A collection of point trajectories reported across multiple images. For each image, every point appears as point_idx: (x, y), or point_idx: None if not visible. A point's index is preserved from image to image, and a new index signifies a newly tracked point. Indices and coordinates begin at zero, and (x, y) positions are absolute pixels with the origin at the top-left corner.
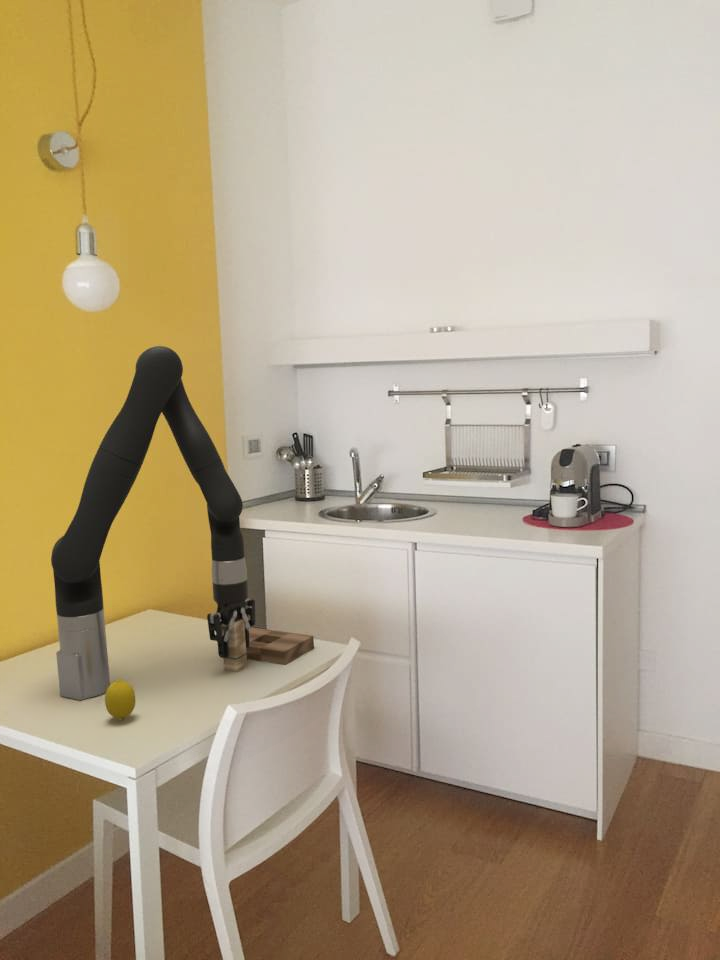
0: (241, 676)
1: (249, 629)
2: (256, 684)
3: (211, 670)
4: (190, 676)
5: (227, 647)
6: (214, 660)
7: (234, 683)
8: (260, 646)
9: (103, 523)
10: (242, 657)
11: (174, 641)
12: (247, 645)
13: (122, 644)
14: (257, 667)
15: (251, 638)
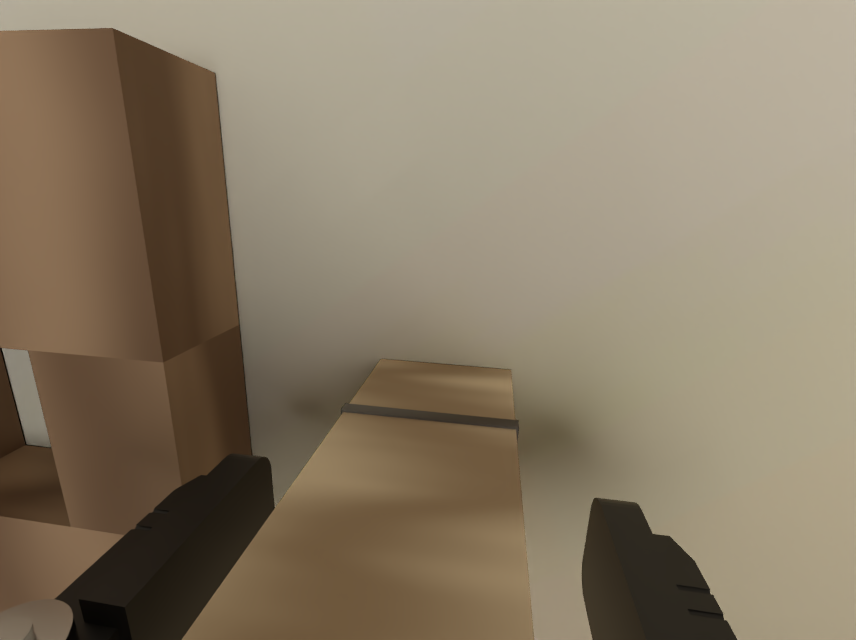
0: (586, 284)
1: (26, 615)
2: (751, 9)
3: (537, 558)
4: None
5: (658, 601)
6: None
7: (767, 245)
8: (127, 386)
9: None
10: (415, 406)
11: None
12: (249, 466)
13: None
14: (359, 274)
15: (34, 553)
